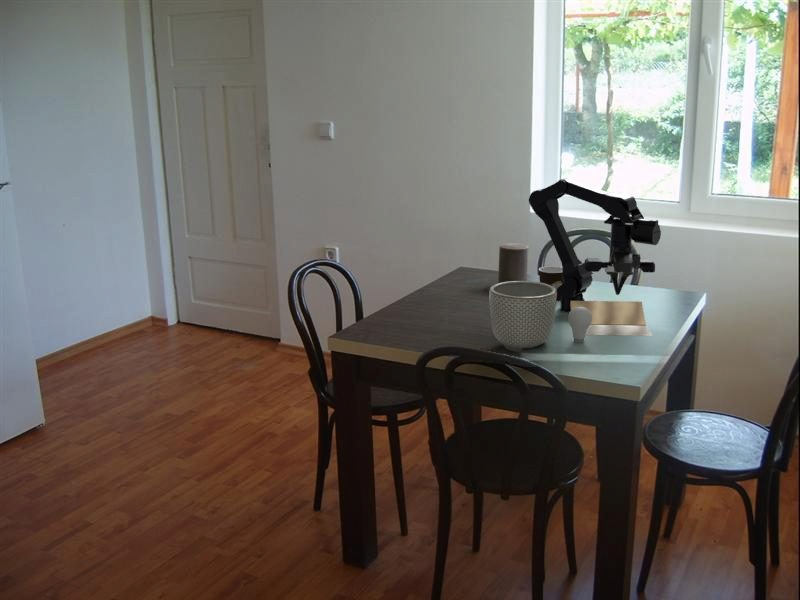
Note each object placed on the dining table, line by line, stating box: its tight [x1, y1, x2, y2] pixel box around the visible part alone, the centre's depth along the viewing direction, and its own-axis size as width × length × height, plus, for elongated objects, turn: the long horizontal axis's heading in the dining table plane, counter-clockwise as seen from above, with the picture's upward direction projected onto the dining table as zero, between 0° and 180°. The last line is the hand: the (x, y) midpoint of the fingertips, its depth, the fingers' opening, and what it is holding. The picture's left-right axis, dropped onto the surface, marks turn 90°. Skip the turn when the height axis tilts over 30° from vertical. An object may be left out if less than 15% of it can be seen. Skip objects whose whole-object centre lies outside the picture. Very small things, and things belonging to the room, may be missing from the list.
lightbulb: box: [567, 307, 592, 344], centre depth 215 cm, size 6×6×11 cm
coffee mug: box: [538, 266, 564, 302], centre depth 258 cm, size 12×9×10 cm
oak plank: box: [570, 300, 647, 326], centre depth 233 cm, size 20×9×1 cm
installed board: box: [585, 325, 653, 337], centre depth 225 cm, size 20×9×2 cm, turn 84°
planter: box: [488, 280, 557, 353], centre depth 215 cm, size 17×17×16 cm
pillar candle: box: [497, 241, 529, 284], centre depth 276 cm, size 10×10×15 cm
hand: (617, 294), depth 234 cm, fingers closed
